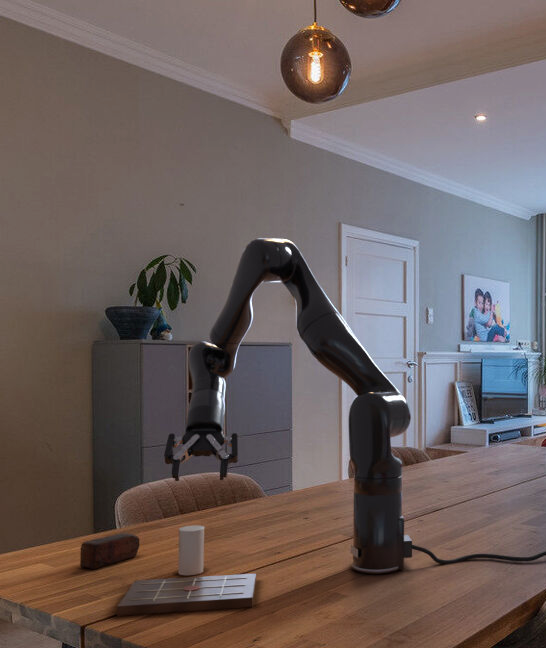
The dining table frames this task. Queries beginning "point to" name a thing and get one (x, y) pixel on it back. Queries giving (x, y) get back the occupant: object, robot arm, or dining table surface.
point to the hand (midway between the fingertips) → (199, 478)
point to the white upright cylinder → (191, 550)
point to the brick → (108, 550)
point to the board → (188, 594)
